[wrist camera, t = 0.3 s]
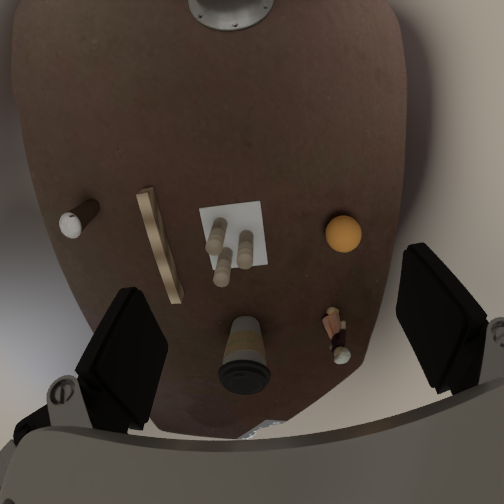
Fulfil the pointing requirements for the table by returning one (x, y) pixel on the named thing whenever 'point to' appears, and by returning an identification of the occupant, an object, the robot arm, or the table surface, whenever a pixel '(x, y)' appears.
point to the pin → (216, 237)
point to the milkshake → (78, 218)
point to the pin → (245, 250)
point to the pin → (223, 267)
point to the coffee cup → (244, 358)
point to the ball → (343, 233)
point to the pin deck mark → (237, 228)
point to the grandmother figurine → (336, 335)
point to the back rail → (160, 244)
